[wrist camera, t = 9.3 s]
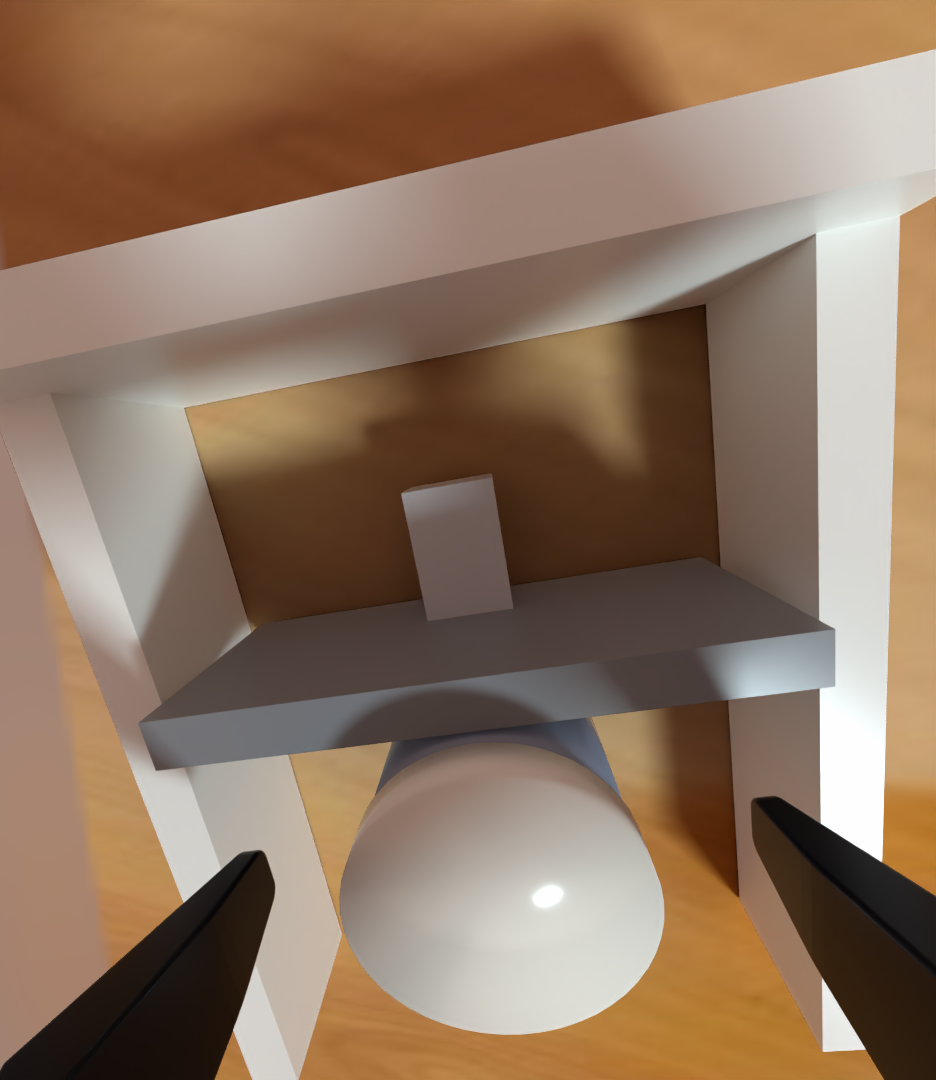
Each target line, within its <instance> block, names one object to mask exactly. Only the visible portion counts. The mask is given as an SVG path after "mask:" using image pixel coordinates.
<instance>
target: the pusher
mask: <svg viewBox="0 0 936 1080" xmlns="http://www.w3.org/2000/svg"><path fill="white" fill-rule="evenodd" d="M401 496H402V500H403V505H404V510H405V515H406V520H407V524H408V529H409V534H410V539H411V544H412V548H413V553H414V558H415V563H416V568H417V572H418V577H419V582H420V587H421V592H422V596H423V599H421V600H414V601H408V602H401V603H394V604H388V605H381V606H375V607H368V608H361V609H355V610H348V611H342V612H335V613H328V614H322V615H315V616H309V617H302V618H296V619H289V620H282V621H276V622H269V623H263V624H262V625H260V626H259V627H258V628H257V629H255V630H254V631H253V632H252V633H250V634H249V635H248V636H246V637H245V638H244V639H243V640H241V641H240V642H239V643H238V644H236V645H235V646H234V647H233V648H231V649H230V650H229V651H228V652H226V653H225V654H224V655H223V656H221V657H220V658H219V659H218V660H216V661H215V662H214V663H213V664H211V665H210V666H209V667H208V668H206V669H205V670H204V671H203V672H201V673H200V674H199V675H198V676H196V677H195V678H194V679H193V680H191V681H190V682H189V683H188V684H186V685H185V686H184V687H183V688H181V689H180V690H179V691H178V692H176V693H175V694H174V695H173V696H171V697H170V698H169V699H168V700H166V701H165V702H164V703H163V704H161V705H160V706H159V707H158V708H156V709H155V710H154V711H153V712H151V713H150V714H149V715H148V716H146V717H145V718H144V719H143V720H141V721H140V722H139V723H138V725H139V727H140V730H141V733H142V735H143V738H144V741H145V743H146V746H147V749H148V751H149V754H150V757H151V759H152V762H153V765H154V767H155V770H156V771H160V770H168V769H176V768H184V767H192V766H200V765H208V764H216V763H224V762H233V761H241V760H249V759H257V758H265V757H273V756H281V755H289V754H297V753H305V752H313V751H321V750H329V749H337V748H345V747H353V746H361V745H369V744H377V743H385V742H393V741H401V740H410V739H418V738H426V737H434V736H442V735H450V734H458V733H466V732H474V731H482V730H490V729H498V728H506V727H514V726H522V725H530V724H538V723H546V722H554V721H562V720H570V719H578V718H587V717H595V716H603V715H611V714H619V713H627V712H635V711H643V710H651V709H659V708H667V707H675V706H683V705H691V704H699V703H707V702H715V701H723V700H731V699H739V698H747V697H755V696H764V695H772V694H780V693H788V692H796V691H804V690H812V689H820V688H828V687H835V629H834V628H832V627H830V626H829V625H827V624H825V623H823V622H821V621H819V620H817V619H816V618H814V617H812V616H810V615H808V614H806V613H805V612H803V611H801V610H799V609H797V608H795V607H793V606H792V605H790V604H788V603H786V602H784V601H782V600H780V599H779V598H777V597H775V596H773V595H771V594H769V593H767V592H766V591H764V590H762V589H760V588H758V587H756V586H754V585H753V584H751V583H749V582H747V581H745V580H743V579H741V578H740V577H738V576H736V575H734V574H732V573H730V572H729V571H727V570H725V569H723V568H721V567H719V566H717V565H716V564H714V563H712V562H710V561H708V560H706V559H704V558H703V557H698V558H691V559H684V560H678V561H671V562H665V563H658V564H651V565H645V566H638V567H632V568H625V569H619V570H612V571H605V572H599V573H592V574H586V575H579V576H572V577H566V578H559V579H553V580H546V581H539V582H533V583H526V584H520V585H513V586H510V582H509V576H508V570H507V564H506V558H505V552H504V546H503V539H502V533H501V527H500V521H499V515H498V509H497V503H496V497H495V490H494V484H493V478H492V473H490V474H484V475H478V476H473V477H467V478H461V479H455V480H450V481H444V482H438V483H433V484H427V485H421V486H415V487H411V488H410V489H408V490H406V491H404V492H403V493H401Z"/></svg>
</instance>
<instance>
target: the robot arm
mask: <svg viewBox="0 0 936 1080" xmlns="http://www.w3.org/2000/svg"><path fill="white" fill-rule="evenodd" d="M751 824H752V838H753V842H754V846H755V848H756V851H757V853H758V855H759V857H760V859H761V861H762V863H763V865H764V867H765V869H766V871H767V873H768V875H769V877H770V879H771V881H772V883H773V885H774V887H775V889H776V891H777V893H778V895H779V897H780V899H781V901H782V902H783V904H784V906H785V908H786V910H787V912H788V914H789V916H790V918H791V920H792V922H793V924H794V926H795V928H796V930H797V932H798V934H799V936H800V938H801V940H802V942H803V944H804V946H805V948H806V950H807V952H808V953H809V955H810V957H811V959H812V961H813V963H814V964H815V966H816V968H817V970H818V971H819V973H820V975H821V976H822V978H823V980H824V982H825V983H826V985H827V987H828V988H829V990H830V991H831V993H832V995H833V996H834V998H835V1000H836V1001H837V1003H838V1005H839V1006H840V1008H841V1009H842V1011H843V1013H844V1014H845V1016H846V1018H847V1019H848V1021H849V1023H850V1024H851V1026H852V1028H853V1029H854V1031H855V1032H856V1034H857V1036H858V1037H859V1039H860V1041H861V1042H862V1044H863V1046H864V1047H865V1049H866V1051H867V1052H868V1054H869V1055H870V1057H871V1059H872V1060H873V1062H874V1064H875V1065H876V1067H877V1069H878V1070H879V1072H880V1074H881V1075H882V1077H883V1078H884V1080H936V896H935V895H933V894H932V893H930V892H928V891H927V890H925V889H924V888H922V887H921V886H919V885H917V884H916V883H914V882H913V881H911V880H909V879H908V878H906V877H905V876H903V875H902V874H900V873H898V872H897V871H895V870H894V869H892V868H891V867H889V866H887V865H886V864H884V863H883V862H881V861H880V860H878V859H876V858H875V857H873V856H872V855H870V854H869V853H867V852H865V851H864V850H862V849H861V848H859V847H857V846H856V845H854V844H853V843H851V842H850V841H848V840H846V839H845V838H843V837H842V836H840V835H839V834H837V833H835V832H834V831H832V830H831V829H829V828H828V827H826V826H824V825H823V824H821V823H820V822H818V821H816V820H815V819H813V818H812V817H810V816H809V815H807V814H805V813H804V812H802V811H801V810H799V809H798V808H796V807H794V806H793V805H791V804H790V803H788V802H787V801H785V800H783V799H782V798H780V797H777V796H765V797H756V798H753V799H752V801H751ZM274 897H275V881H274V878H273V875H272V872H271V869H270V866H269V863H268V860H267V857H266V854H265V853H264V852H263V851H262V850H253V851H244V852H241V853H240V854H238V855H237V856H236V857H235V858H233V859H232V860H231V861H230V862H229V863H228V864H227V865H226V866H224V867H223V868H222V869H221V870H220V871H219V872H218V873H217V874H216V875H214V876H213V877H212V878H211V879H210V880H209V881H208V882H207V883H205V884H204V885H203V886H202V887H201V888H200V889H199V890H198V891H196V892H195V893H194V894H193V895H192V896H191V897H190V898H189V899H188V900H186V901H185V902H184V903H183V904H182V905H181V906H180V907H179V908H177V909H176V910H175V911H174V912H173V913H172V914H171V915H170V916H169V917H167V918H166V919H165V920H164V921H163V922H162V923H161V924H160V925H158V926H157V927H156V928H155V929H154V930H153V931H152V932H151V933H150V934H148V935H147V936H146V937H145V938H144V939H143V940H142V941H141V942H139V943H138V944H137V945H136V946H135V947H134V948H133V949H132V950H130V951H129V952H128V953H127V954H126V955H125V956H124V957H123V958H122V959H120V960H119V961H118V962H117V963H116V964H115V965H114V966H113V967H111V968H110V969H109V970H108V971H107V972H106V973H105V974H104V975H103V976H101V978H99V979H98V980H97V981H96V982H95V983H94V984H92V985H91V986H90V987H89V988H88V989H87V990H86V991H85V992H83V993H82V994H81V995H80V996H79V997H78V998H77V999H76V1000H75V1001H73V1002H72V1003H71V1004H70V1005H69V1006H68V1007H67V1008H66V1009H64V1010H63V1011H62V1012H61V1013H60V1014H59V1015H58V1016H57V1017H56V1018H54V1019H53V1020H52V1021H51V1022H50V1023H49V1024H48V1025H47V1026H45V1028H43V1029H42V1030H41V1031H40V1032H39V1033H38V1034H36V1036H34V1037H33V1038H32V1039H31V1040H30V1041H29V1042H27V1044H25V1045H24V1046H23V1047H22V1048H21V1049H20V1050H19V1051H17V1052H16V1053H15V1054H14V1055H13V1056H12V1057H11V1058H10V1059H9V1060H7V1061H6V1062H5V1063H4V1065H3V1066H2V1068H1V1070H0V1080H215V1077H216V1074H217V1072H218V1069H219V1066H220V1064H221V1061H222V1058H223V1056H224V1053H225V1050H226V1048H227V1045H228V1042H229V1040H230V1037H231V1035H232V1032H233V1029H234V1027H235V1024H236V1021H237V1018H238V1016H239V1013H240V1010H241V1007H242V1004H243V1002H244V998H245V995H246V992H247V989H248V986H249V983H250V979H251V976H252V972H253V969H254V966H255V962H256V959H257V956H258V952H259V949H260V945H261V942H262V939H263V935H264V932H265V928H266V925H267V922H268V918H269V915H270V911H271V908H272V905H273V901H274Z"/></svg>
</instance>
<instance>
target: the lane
mask: <svg viewBox="0 0 936 1080" xmlns="http://www.w3.org/2000/svg"><path fill="white" fill-rule="evenodd" d="M935 196H936V49H935V50H931V51H926V52H922V53H918V54H914V55H910V56H905V57H901V58H897V59H893V60H888V61H884V62H880V63H876V64H872V65H867V66H863V67H859V68H855V69H850V70H846V71H842V72H838V73H833V74H829V75H825V76H821V77H817V78H812V79H808V80H804V81H800V82H795V83H791V84H787V85H783V86H778V87H774V88H770V89H766V90H762V91H757V92H753V93H749V94H745V95H740V96H736V97H732V98H728V99H723V100H719V101H715V102H711V103H707V104H702V105H698V106H694V107H690V108H685V109H681V110H677V111H673V112H668V113H664V114H660V115H656V116H652V117H647V118H643V119H639V120H635V121H630V122H626V123H622V124H618V125H613V126H609V127H605V128H601V129H597V130H592V131H588V132H584V133H580V134H575V135H571V136H567V137H563V138H558V139H554V140H550V141H546V142H542V143H537V144H533V145H529V146H525V147H520V148H516V149H512V150H508V151H503V152H499V153H495V154H491V155H487V156H482V157H478V158H474V159H470V160H465V161H461V162H457V163H453V164H448V165H444V166H440V167H436V168H432V169H427V170H423V171H419V172H415V173H410V174H406V175H402V176H398V177H393V178H389V179H385V180H381V181H377V182H372V183H368V184H364V185H360V186H355V187H351V188H347V189H343V190H338V191H334V192H330V193H326V194H322V195H317V196H313V197H309V198H305V199H300V200H296V201H292V202H288V203H283V204H279V205H275V206H271V207H267V208H262V209H258V210H254V211H250V212H245V213H241V214H237V215H233V216H228V217H224V218H220V219H216V220H212V221H207V222H203V223H199V224H195V225H190V226H186V227H182V228H178V229H173V230H169V231H165V232H161V233H157V234H152V235H148V236H144V237H140V238H135V239H131V240H127V241H123V242H118V243H114V244H110V245H106V246H102V247H97V248H93V249H89V250H85V251H80V252H76V253H72V254H68V255H63V256H59V257H55V258H51V259H47V260H42V261H38V262H34V263H30V264H25V265H21V266H17V267H13V268H8V269H4V270H0V433H1V435H2V438H3V440H4V443H5V446H6V448H7V451H8V453H9V456H10V459H11V461H12V464H13V466H14V469H15V471H16V474H17V476H18V479H19V482H20V484H21V487H22V489H23V492H24V494H25V497H26V500H27V502H28V505H29V507H30V510H31V512H32V515H33V518H34V520H35V523H36V525H37V528H38V530H39V533H40V536H41V538H42V541H43V543H44V546H45V548H46V551H47V554H48V556H49V559H50V561H51V564H52V566H53V569H54V571H55V574H56V577H57V579H58V582H59V584H60V587H61V589H62V592H63V595H64V597H65V600H66V602H67V605H68V607H69V610H70V613H71V615H72V618H73V620H74V623H75V625H76V628H77V630H78V633H79V636H80V638H81V641H82V643H83V646H84V648H85V651H86V654H87V656H88V659H89V661H90V664H91V666H92V669H93V672H94V674H95V677H96V679H97V682H98V684H99V687H100V690H101V692H102V695H103V697H104V700H105V702H106V705H107V707H108V710H109V713H110V715H111V718H112V720H113V723H114V725H115V728H116V731H117V733H118V736H119V738H120V741H121V743H122V746H123V749H124V751H125V754H126V756H127V759H128V761H129V764H130V767H131V769H132V772H133V774H134V777H135V779H136V782H137V784H138V787H139V790H140V792H141V795H142V797H143V800H144V802H145V805H146V808H147V810H148V813H149V815H150V818H151V820H152V823H153V826H154V828H155V831H156V833H157V836H158V838H159V841H160V844H161V846H162V849H163V851H164V854H165V856H166V859H167V861H168V864H169V867H170V869H171V872H172V874H173V877H174V879H175V882H176V885H177V887H178V890H179V892H180V895H181V897H182V900H183V903H184V902H185V901H186V900H188V899H189V898H190V897H191V896H192V895H193V894H194V893H195V892H196V891H198V890H199V889H200V888H201V887H202V886H203V885H204V884H205V883H207V882H208V881H209V880H210V879H211V878H212V877H213V876H214V875H216V874H217V873H218V872H219V871H220V870H221V869H222V868H223V867H224V866H226V865H227V864H228V863H229V862H230V861H231V860H232V859H233V858H235V857H236V856H237V855H238V854H240V853H241V852H244V851H253V850H262V851H263V852H264V853H265V854H266V857H267V860H268V863H269V866H270V869H271V872H272V875H273V878H274V881H275V897H274V901H273V905H272V908H271V911H270V915H269V918H268V922H267V925H266V928H265V932H264V935H263V939H262V942H261V945H260V949H259V952H258V956H257V959H256V962H255V966H254V969H253V972H252V976H251V979H250V983H249V986H248V989H247V992H246V995H245V998H244V1002H243V1004H242V1007H241V1010H240V1013H239V1016H238V1018H237V1021H236V1024H235V1027H234V1029H233V1031H234V1033H235V1036H236V1039H237V1041H238V1044H239V1046H240V1049H241V1051H242V1054H243V1057H244V1059H245V1062H246V1064H247V1067H248V1069H249V1072H250V1074H251V1077H252V1080H299V1077H300V1073H301V1070H302V1067H303V1063H304V1060H305V1057H306V1053H307V1050H308V1047H309V1043H310V1040H311V1037H312V1033H313V1030H314V1027H315V1023H316V1020H317V1017H318V1013H319V1010H320V1007H321V1003H322V1000H323V997H324V993H325V990H326V987H327V983H328V980H329V977H330V973H331V970H332V967H333V963H334V960H335V957H336V953H337V950H338V947H339V943H340V940H341V937H342V932H341V929H340V926H339V923H338V919H337V916H336V913H335V909H334V906H333V903H332V899H331V896H330V893H329V889H328V886H327V883H326V879H325V876H324V873H323V869H322V866H321V863H320V859H319V856H318V853H317V849H316V846H315V843H314V839H313V836H312V833H311V829H310V826H309V823H308V819H307V816H306V813H305V809H304V806H303V803H302V799H301V796H300V793H299V789H298V786H297V783H296V779H295V776H294V773H293V769H292V766H291V763H290V759H289V756H288V755H281V756H273V757H265V758H257V759H249V760H241V761H233V762H224V763H216V764H208V765H200V766H192V767H184V768H176V769H168V770H160V771H156V770H155V767H154V765H153V762H152V759H151V757H150V754H149V751H148V749H147V746H146V743H145V741H144V738H143V735H142V733H141V730H140V727H139V725H138V723H139V722H140V721H141V720H143V719H144V718H145V717H146V716H148V715H149V714H150V713H151V712H153V711H154V710H155V709H156V708H158V707H159V706H160V705H161V704H163V703H164V702H165V701H166V700H168V699H169V698H170V697H171V696H173V695H174V694H175V693H176V692H178V691H179V690H180V689H181V688H183V687H184V686H185V685H186V684H188V683H189V682H190V681H191V680H193V679H194V678H195V677H196V676H198V675H199V674H200V673H201V672H203V671H204V670H205V669H206V668H208V667H209V666H210V665H211V664H213V663H214V662H215V661H216V660H218V659H219V658H220V657H221V656H223V655H224V654H225V653H226V652H228V651H229V650H230V649H231V648H233V647H234V646H235V645H236V644H238V643H239V642H240V641H241V640H243V639H244V638H245V637H246V636H248V635H249V634H250V633H251V630H250V626H249V623H248V620H247V616H246V613H245V610H244V606H243V603H242V600H241V596H240V593H239V590H238V586H237V583H236V580H235V576H234V573H233V570H232V566H231V563H230V560H229V556H228V553H227V550H226V546H225V543H224V540H223V536H222V533H221V530H220V526H219V523H218V520H217V516H216V513H215V510H214V507H213V503H212V500H211V497H210V493H209V490H208V487H207V483H206V480H205V477H204V473H203V470H202V467H201V463H200V460H199V457H198V453H197V450H196V447H195V443H194V440H193V437H192V433H191V430H190V427H189V423H188V420H187V417H186V413H185V410H184V408H186V407H191V406H196V405H201V404H206V403H211V402H216V401H221V400H226V399H231V398H236V397H241V396H246V395H251V394H256V393H261V392H266V391H271V390H276V389H281V388H286V387H291V386H296V385H301V384H306V383H311V382H316V381H321V380H326V379H331V378H336V377H341V376H346V375H351V374H356V373H362V372H367V371H372V370H377V369H382V368H387V367H392V366H397V365H402V364H407V363H412V362H417V361H422V360H427V359H432V358H437V357H442V356H447V355H452V354H457V353H462V352H467V351H472V350H477V349H482V348H487V347H492V346H497V345H502V344H507V343H512V342H517V341H522V340H527V339H532V338H537V337H543V336H548V335H553V334H558V333H563V332H568V331H573V330H578V329H583V328H588V327H593V326H598V325H603V324H608V323H613V322H618V321H623V320H628V319H633V318H638V317H643V316H648V315H653V314H658V313H663V312H668V311H673V310H678V309H683V308H688V307H693V306H698V305H703V304H706V316H707V334H708V351H709V369H710V387H711V404H712V422H713V439H714V457H715V475H716V492H717V510H718V528H719V545H720V563H721V568H723V569H725V570H727V571H729V572H730V573H732V574H734V575H736V576H738V577H740V578H741V579H743V580H745V581H747V582H749V583H751V584H753V585H754V586H756V587H758V588H760V589H762V590H764V591H766V592H767V593H769V594H771V595H773V596H775V597H777V598H779V599H780V600H782V601H784V602H786V603H788V604H790V605H792V606H793V607H795V608H797V609H799V610H801V611H803V612H805V613H806V614H808V615H810V616H812V617H814V618H816V619H817V620H819V621H821V622H823V623H825V624H827V625H829V626H830V627H832V628H834V629H835V687H828V688H820V689H812V690H804V691H796V692H788V693H780V694H772V695H764V696H755V697H747V698H739V699H731V700H728V704H729V721H730V739H731V757H732V774H733V792H734V810H735V827H736V845H737V862H738V880H739V898H740V902H741V903H742V905H743V907H744V909H745V911H746V913H747V914H748V916H749V918H750V920H751V922H752V924H753V925H754V927H755V929H756V931H757V933H758V935H759V936H760V938H761V940H762V942H763V944H764V945H765V947H766V949H767V951H768V953H769V955H770V956H771V958H772V960H773V962H774V964H775V966H776V967H777V969H778V971H779V973H780V975H781V977H782V978H783V980H784V982H785V984H786V986H787V988H788V989H789V991H790V993H791V995H792V997H793V999H794V1000H795V1002H796V1004H797V1006H798V1008H799V1009H800V1011H801V1013H802V1015H803V1017H804V1019H805V1020H806V1022H807V1024H808V1026H809V1028H810V1030H811V1031H812V1033H813V1035H814V1037H815V1039H816V1041H817V1042H818V1044H819V1046H820V1048H821V1050H822V1052H830V1051H847V1050H864V1049H865V1047H864V1046H863V1044H862V1042H861V1041H860V1039H859V1037H858V1036H857V1034H856V1032H855V1031H854V1029H853V1028H852V1026H851V1024H850V1023H849V1021H848V1019H847V1018H846V1016H845V1014H844V1013H843V1011H842V1009H841V1008H840V1006H839V1005H838V1003H837V1001H836V1000H835V998H834V996H833V995H832V993H831V991H830V990H829V988H828V987H827V985H826V983H825V982H824V980H823V978H822V976H821V975H820V973H819V971H818V970H817V968H816V966H815V964H814V963H813V961H812V959H811V957H810V955H809V953H808V952H807V950H806V948H805V946H804V944H803V942H802V940H801V938H800V936H799V934H798V932H797V930H796V928H795V926H794V924H793V922H792V920H791V918H790V916H789V914H788V912H787V910H786V908H785V906H784V904H783V902H782V901H781V899H780V897H779V895H778V893H777V891H776V889H775V887H774V885H773V883H772V881H771V879H770V877H769V875H768V873H767V871H766V869H765V867H764V865H763V863H762V861H761V859H760V857H759V855H758V853H757V851H756V848H755V846H754V842H753V838H752V824H751V801H752V799H753V798H756V797H765V796H777V797H780V798H782V799H783V800H785V801H787V802H788V803H790V804H791V805H793V806H794V807H796V808H798V809H799V810H801V811H802V812H804V813H805V814H807V815H809V816H810V817H812V818H813V819H815V820H816V821H818V822H820V823H821V824H823V825H824V826H826V827H828V828H829V829H831V830H832V831H834V832H835V833H837V834H839V835H840V836H842V837H843V838H845V839H846V840H848V841H850V842H851V843H853V844H854V845H856V846H857V847H859V848H861V849H862V850H864V851H865V852H867V853H869V854H870V855H872V856H873V857H875V858H876V859H878V860H880V861H881V862H882V844H883V807H884V771H885V735H886V699H887V663H888V627H889V591H890V555H891V519H892V483H893V446H894V410H895V374H896V338H897V302H898V266H899V230H900V216H901V215H902V214H904V213H906V212H908V211H910V210H912V209H913V208H915V207H917V206H919V205H921V204H922V203H924V202H926V201H928V200H930V199H931V198H933V197H935Z"/></svg>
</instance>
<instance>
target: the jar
mask: <svg viewBox="0 0 936 1080" xmlns="http://www.w3.org/2000/svg"><path fill="white" fill-rule="evenodd" d="M339 900H340V915H341V920H342V925H343V929H344V932H345V935H346V937H347V940H348V943H349V945H350V947H351V949H352V951H353V953H354V954H355V956H356V958H357V960H358V961H359V963H360V964H361V965H362V967H363V968H364V969H365V971H366V972H367V973H368V975H369V976H370V977H371V978H372V979H373V980H374V981H375V982H376V983H377V984H378V985H379V986H380V987H381V988H382V989H383V990H385V991H386V992H387V993H388V994H389V995H391V996H392V997H393V998H394V999H396V1000H397V1001H399V1002H400V1003H402V1004H404V1005H405V1006H407V1007H408V1008H410V1009H411V1010H413V1011H415V1012H417V1013H419V1014H421V1015H423V1016H425V1017H427V1018H430V1019H432V1020H435V1021H438V1022H440V1023H443V1024H446V1025H449V1026H453V1027H456V1028H460V1029H464V1030H469V1031H475V1032H480V1033H489V1034H501V1035H510V1034H530V1033H539V1032H545V1031H550V1030H554V1029H559V1028H563V1027H566V1026H569V1025H572V1024H575V1023H578V1022H580V1021H583V1020H585V1019H587V1018H589V1017H592V1016H594V1015H596V1014H598V1013H599V1012H601V1011H603V1010H604V1009H606V1008H608V1007H609V1006H611V1005H612V1004H614V1003H615V1002H616V1001H618V1000H619V999H620V998H621V997H623V996H624V995H625V994H626V993H627V992H628V991H629V990H630V989H631V988H632V987H633V986H634V985H635V984H636V983H637V982H638V981H639V980H640V978H641V977H642V976H643V974H644V973H645V972H646V970H647V969H648V967H649V965H650V964H651V962H652V960H653V958H654V956H655V954H656V952H657V949H658V946H659V943H660V940H661V937H662V931H663V924H664V900H663V895H662V889H661V885H660V882H659V879H658V876H657V874H656V871H655V868H654V866H653V863H652V860H651V858H650V855H649V853H648V850H647V847H646V845H645V842H644V840H643V837H642V835H641V832H640V829H639V827H638V824H637V822H636V820H635V819H634V817H633V815H632V813H631V811H630V810H629V808H628V807H627V805H626V804H625V803H624V801H623V800H622V798H621V795H620V793H619V790H618V787H617V785H616V782H615V779H614V776H613V774H612V771H611V768H610V766H609V763H608V760H607V758H606V755H605V752H604V749H603V747H602V744H601V741H600V739H599V736H598V733H597V731H596V728H595V725H594V722H593V720H592V717H587V718H578V719H570V720H562V721H554V722H546V723H538V724H530V725H522V726H514V727H506V728H498V729H490V730H482V731H474V732H466V733H458V734H450V735H442V736H434V737H426V738H418V739H410V740H401V741H393V742H392V744H391V747H390V750H389V754H388V757H387V760H386V763H385V766H384V769H383V772H382V775H381V778H380V781H379V784H378V788H377V791H376V794H375V797H374V798H373V800H372V801H371V803H370V804H369V806H368V807H367V809H366V811H365V813H364V815H363V818H362V820H361V822H360V825H359V828H358V831H357V834H356V836H355V839H354V842H353V845H352V848H351V851H350V854H349V857H348V860H347V863H346V866H345V870H344V873H343V877H342V880H341V888H340V896H339Z"/></svg>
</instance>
